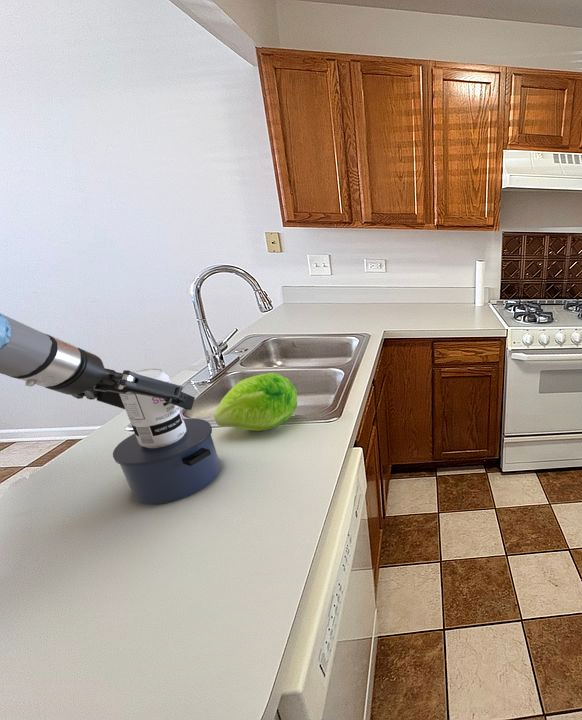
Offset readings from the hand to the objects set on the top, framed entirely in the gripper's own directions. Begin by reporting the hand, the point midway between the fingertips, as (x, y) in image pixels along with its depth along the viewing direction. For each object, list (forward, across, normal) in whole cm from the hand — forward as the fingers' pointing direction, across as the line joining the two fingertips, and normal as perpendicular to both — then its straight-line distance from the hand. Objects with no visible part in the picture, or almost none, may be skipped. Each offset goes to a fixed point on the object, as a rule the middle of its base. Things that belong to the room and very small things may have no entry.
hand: (160, 403), depth 84 cm
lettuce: (+27, +7, +1) cm, 28 cm away
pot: (+12, 0, -14) cm, 18 cm away
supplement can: (+4, 0, -7) cm, 8 cm away
